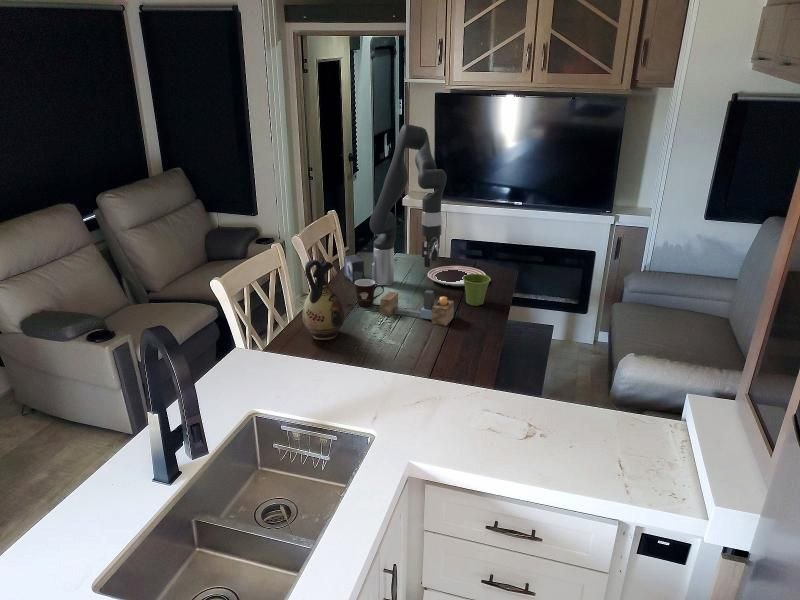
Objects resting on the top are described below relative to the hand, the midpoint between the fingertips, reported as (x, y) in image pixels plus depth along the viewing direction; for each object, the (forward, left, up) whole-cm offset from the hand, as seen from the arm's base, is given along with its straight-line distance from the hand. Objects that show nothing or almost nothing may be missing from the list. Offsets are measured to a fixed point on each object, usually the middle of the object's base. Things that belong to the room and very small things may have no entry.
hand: (430, 263), depth 228 cm
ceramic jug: (-31, -32, -23) cm, 50 cm away
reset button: (+6, -1, -17) cm, 18 cm away
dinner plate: (-3, +47, -23) cm, 53 cm away
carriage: (0, -1, -23) cm, 23 cm away
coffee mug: (-28, +2, -23) cm, 36 cm away
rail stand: (-5, -1, -23) cm, 23 cm away
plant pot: (+13, +22, -23) cm, 34 cm away
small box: (-48, +29, -23) cm, 61 cm away
